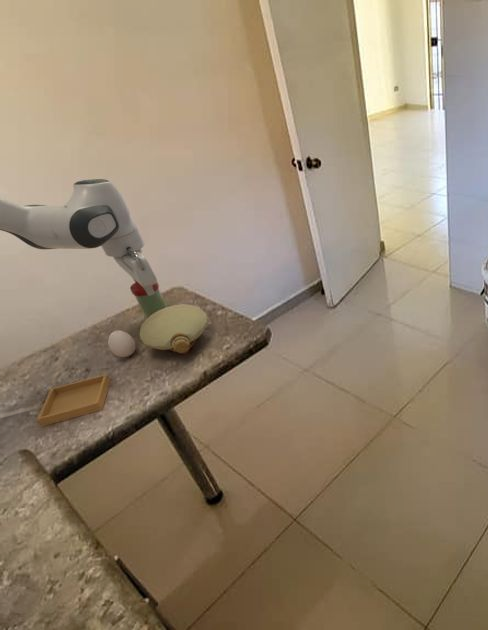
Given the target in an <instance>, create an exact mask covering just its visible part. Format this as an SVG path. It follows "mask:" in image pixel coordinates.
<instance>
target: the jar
mask: <svg viewBox="0 0 488 630" xmlns="http://www.w3.org/2000/svg"><path fill="white" fill-rule="evenodd" d="M133 296H134V298H135V300H136V302H137V303H138V305H139V308H140V309H141V311H142V313H143V315H144V318H145V320H146V319H147V318H148V317H149V316H151V315H152V314H154V313H155V312H157V311H159V310H161V309H164V308H166V307H168V305H167V302H166V300H165V298H164V296H163V294H162V292H161V290H160V287H159V288H158V289H157V290H156V291H155V294H153V295H151V296H148V295H145V296H135V295H133Z"/></svg>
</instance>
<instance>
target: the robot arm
mask: <svg viewBox="0 0 488 630" xmlns="http://www.w3.org/2000/svg"><path fill="white" fill-rule="evenodd" d="M130 214H131V213H130V209H129V208H128V206H127V203H126V201H125V200H124V198H123V196H122V194H121V193H120V191H119V189H118V188H117V186H116V185H115V184H114V183H113V182H112V181H111V180H108V179H104V178H93V179H83V180H79V181H76V182H74V183H73V192H72V195H71V196H70V198H69V200H68V201H67V202H66V203H65V204H64V205H47V204H46V205H44V204H27V205H22V204H17V203H14V202H13V201H9V200H6V199H4V198H1V197H0V231H2V232H6V233H8V234H10V235H12V236H15V237H16V238H17V239H19V240H20V241H21V242H23V243H25V244H26V245H28V246H29V247H31V248H34V249H37V250H57V249H58V250H59V249H64V250H65V249H66V250H91V249H96V248H99V247H101V248H102V250H103V252H104V253H105V255H106V256H107V257H110V258H111V257H112V258H113V259H114V260H115V262H116V263H117V265H118V266H119V267H120V268H121V269H122V270H123V271H125V272H126V273H127V274H128V275H129V276H130V277H131V278H132V280H133V281H134V283H136V282H138V283H139V284H140V285H141V286H142V287H143V288H144V290H145V292H146V294H147V295H148V296H151V295H153V294H155V292H154V290H153V286H152V285H154V284H156V283H157V282H158V279H157V276H156V275H155V272H154V271H153V268H152V267H151V265H150V263H149V262H148V260H147V258H146V257H145V256H144V255H143V254H142V252H143V249H142V248H144V246H145V242H144V240H143V238H142V235H141V233H140V231H139V229H138V226H137V225H136V224H135V223H134V221H133V220H132V218H131V215H130Z"/></svg>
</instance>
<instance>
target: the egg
mask: <svg viewBox="0 0 488 630" xmlns="http://www.w3.org/2000/svg"><path fill="white" fill-rule="evenodd" d="M107 344H108V347H109V350H110V352H111V353H112V354H113V355H115V356H117V357H119V358H128V357H130V356H132V355H133V354H134V353H135V351H136V341H135V340H134V338H133V337H132V335H130V334H129V333H127V332H126V331H124V330H114V331H112V332H111V333H110V334H109V336H108V340H107Z"/></svg>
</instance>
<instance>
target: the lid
mask: <svg viewBox="0 0 488 630" xmlns="http://www.w3.org/2000/svg"><path fill="white" fill-rule="evenodd" d="M152 286H153V290H154V292H155V291H156V290H157V289H158V288H159V289H160V284H159V282H158V281H157V283H156V284H154V285H152ZM129 289H130V292H131V293H132V295H133V296H134V295H135V296H145V295H147V294H146V292H145V290H144V288H143V287H142V286H141V285H140V284H139V283H138V282H136V283H135V282H134V283H132V285H130V287H129ZM135 296H134V297H135Z"/></svg>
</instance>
